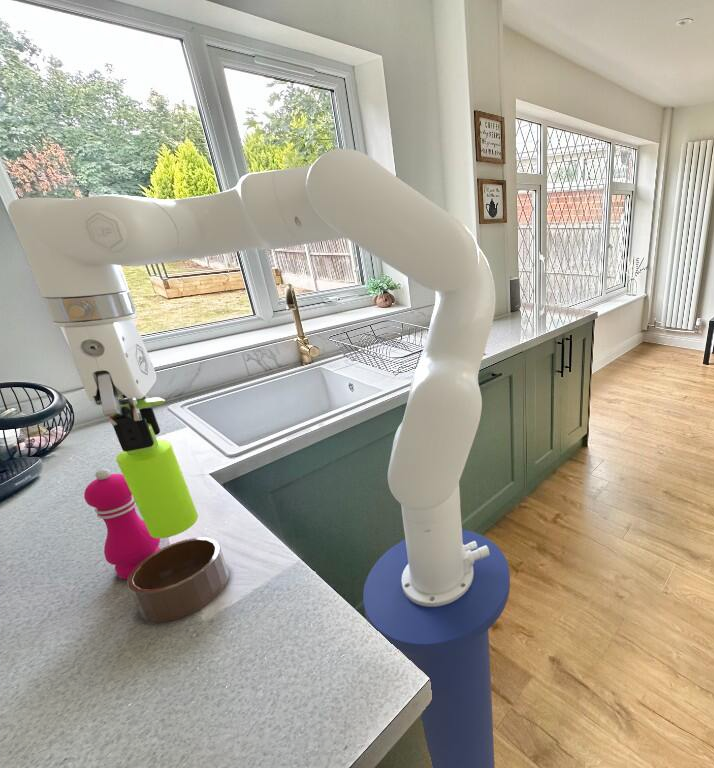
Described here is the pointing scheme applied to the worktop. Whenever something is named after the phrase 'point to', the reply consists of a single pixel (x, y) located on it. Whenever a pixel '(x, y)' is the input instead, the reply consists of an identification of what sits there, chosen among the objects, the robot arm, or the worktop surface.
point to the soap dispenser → (158, 484)
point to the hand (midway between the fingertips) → (142, 440)
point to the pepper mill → (120, 522)
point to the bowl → (178, 579)
